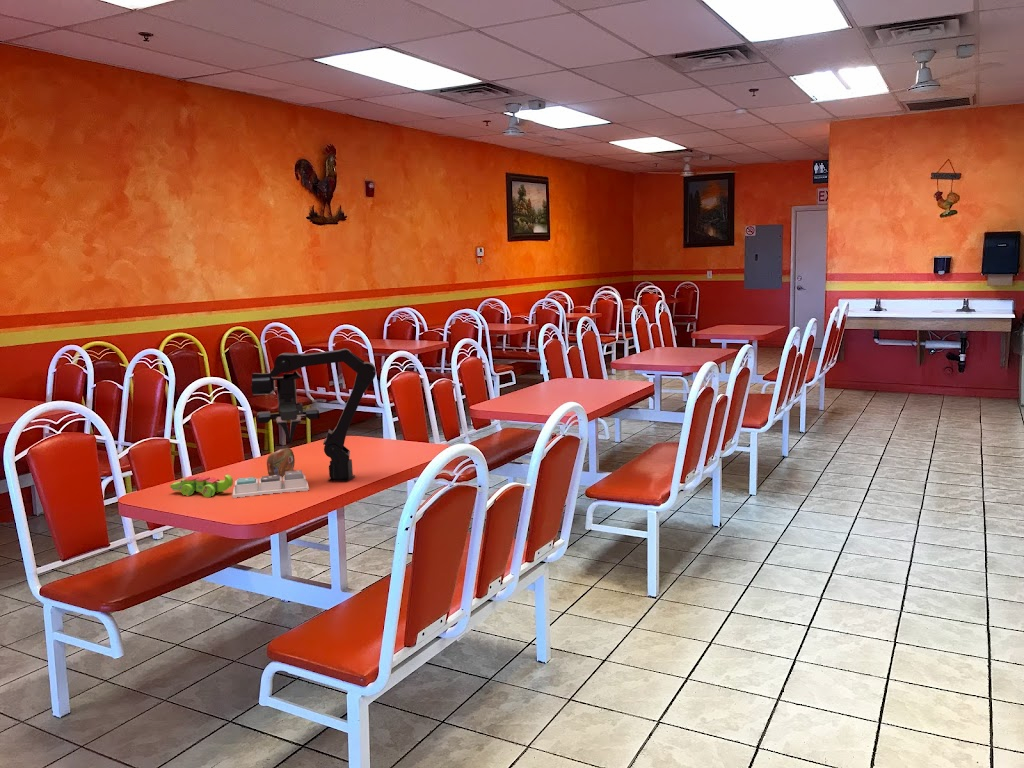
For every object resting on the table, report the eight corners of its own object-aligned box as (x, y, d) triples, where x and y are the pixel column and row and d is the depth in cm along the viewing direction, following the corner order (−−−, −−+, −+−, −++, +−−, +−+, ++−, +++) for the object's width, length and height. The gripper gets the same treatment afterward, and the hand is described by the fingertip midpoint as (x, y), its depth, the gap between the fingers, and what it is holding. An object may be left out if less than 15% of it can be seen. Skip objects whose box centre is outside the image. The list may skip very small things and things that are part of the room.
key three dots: (279, 482, 259) (278, 474, 259) (279, 486, 254) (278, 477, 254) (262, 484, 258) (261, 475, 257) (262, 488, 253) (261, 479, 252)
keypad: (307, 483, 263) (306, 472, 263) (308, 490, 255) (308, 479, 254) (233, 490, 257) (233, 479, 257) (232, 498, 249) (232, 486, 248)
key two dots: (302, 477, 261) (301, 469, 260) (302, 481, 256) (302, 473, 256) (285, 479, 259) (285, 471, 259) (286, 483, 255) (285, 474, 254)
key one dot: (255, 484, 257) (254, 476, 257) (255, 488, 252) (254, 480, 252) (238, 486, 256) (237, 478, 255) (237, 490, 251) (237, 481, 251)
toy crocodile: (167, 495, 255) (165, 476, 254) (181, 490, 261) (179, 471, 260) (224, 498, 250) (222, 478, 249) (237, 492, 256) (235, 473, 255)
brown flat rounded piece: (275, 481, 268) (273, 455, 267) (266, 481, 269) (264, 455, 268) (296, 470, 283) (294, 445, 282) (287, 469, 284) (285, 445, 283)
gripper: (255, 399, 251) (259, 450, 253) (319, 394, 256) (322, 444, 258) (255, 394, 262) (259, 443, 264) (316, 390, 267) (319, 438, 269)
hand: (290, 442), depth 264 cm, fingers closed
